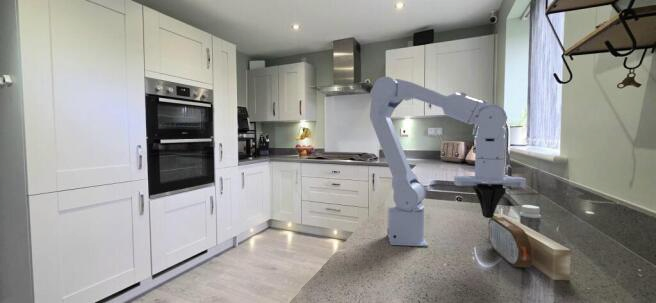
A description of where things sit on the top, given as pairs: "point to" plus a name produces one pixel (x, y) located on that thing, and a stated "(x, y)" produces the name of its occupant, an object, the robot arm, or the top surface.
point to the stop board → (546, 253)
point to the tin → (510, 242)
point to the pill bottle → (531, 217)
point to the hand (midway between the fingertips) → (487, 216)
